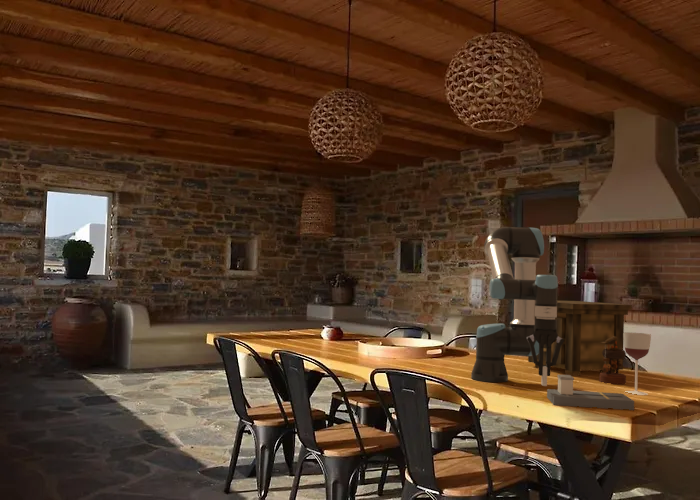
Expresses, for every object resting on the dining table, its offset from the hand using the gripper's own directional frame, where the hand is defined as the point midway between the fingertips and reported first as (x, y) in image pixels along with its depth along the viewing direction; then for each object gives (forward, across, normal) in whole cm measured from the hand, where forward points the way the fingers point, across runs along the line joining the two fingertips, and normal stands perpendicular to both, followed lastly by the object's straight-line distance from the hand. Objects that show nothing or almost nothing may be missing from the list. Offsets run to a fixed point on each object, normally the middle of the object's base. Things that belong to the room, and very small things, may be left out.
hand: (544, 385), depth 222 cm
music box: (+6, +37, +54) cm, 66 cm away
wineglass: (+6, +39, +29) cm, 49 cm away
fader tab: (+2, +7, 0) cm, 8 cm away
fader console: (+5, +15, 0) cm, 16 cm away
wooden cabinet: (+6, +27, +85) cm, 90 cm away
